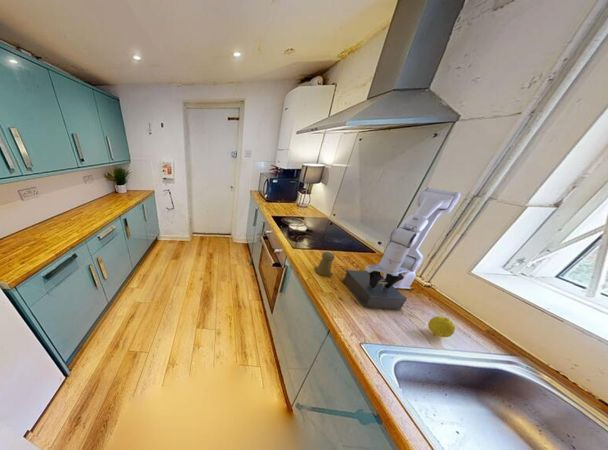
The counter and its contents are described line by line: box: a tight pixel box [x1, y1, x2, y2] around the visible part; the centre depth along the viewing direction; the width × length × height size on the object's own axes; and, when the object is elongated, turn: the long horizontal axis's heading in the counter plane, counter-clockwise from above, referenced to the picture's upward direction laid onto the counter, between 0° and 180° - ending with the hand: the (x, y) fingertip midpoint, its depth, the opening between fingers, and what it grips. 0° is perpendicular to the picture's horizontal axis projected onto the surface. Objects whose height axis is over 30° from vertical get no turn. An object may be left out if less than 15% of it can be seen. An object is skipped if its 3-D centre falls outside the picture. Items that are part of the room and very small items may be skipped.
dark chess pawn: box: [315, 251, 336, 277], centre depth 95 cm, size 6×6×11 cm
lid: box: [345, 269, 408, 301], centre depth 82 cm, size 16×13×4 cm
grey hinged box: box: [342, 272, 407, 311], centre depth 83 cm, size 15×13×5 cm
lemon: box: [427, 315, 456, 338], centre depth 66 cm, size 6×6×8 cm
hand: (378, 286), depth 80 cm, fingers closed on lid, 5 cm apart
